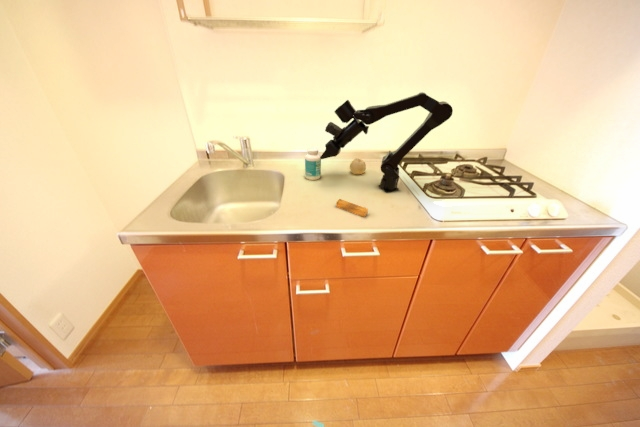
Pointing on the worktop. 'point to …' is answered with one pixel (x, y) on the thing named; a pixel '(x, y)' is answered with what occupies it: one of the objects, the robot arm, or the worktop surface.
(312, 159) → the pill bottle
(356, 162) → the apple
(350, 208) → the fry stick
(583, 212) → the worktop surface
